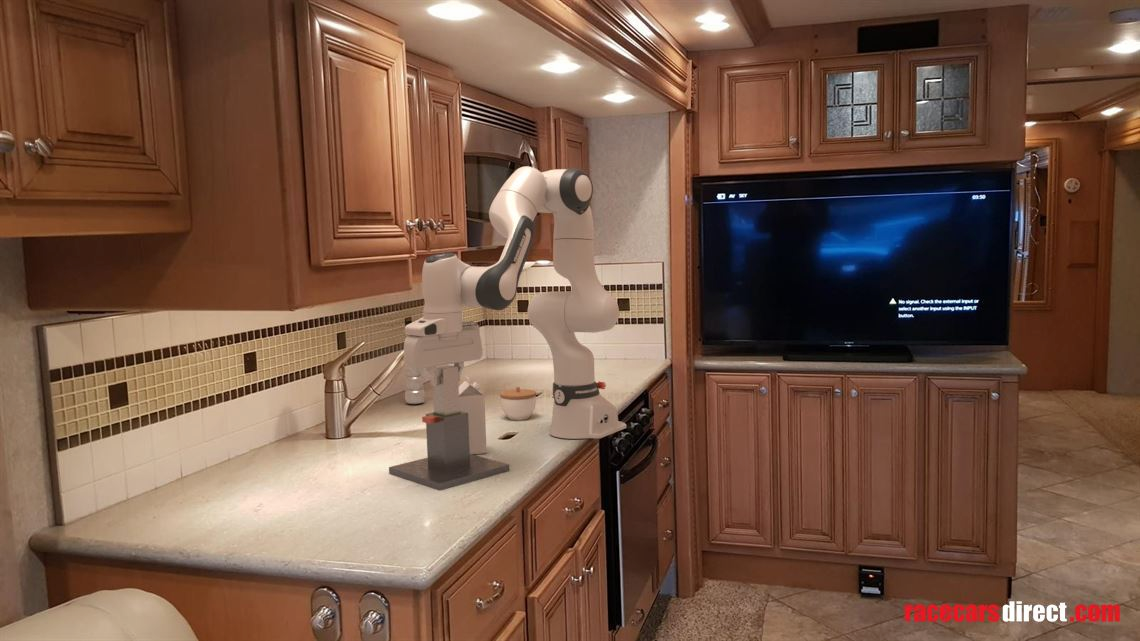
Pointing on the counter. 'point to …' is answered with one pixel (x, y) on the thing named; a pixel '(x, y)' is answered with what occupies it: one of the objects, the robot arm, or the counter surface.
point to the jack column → (446, 391)
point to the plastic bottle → (414, 386)
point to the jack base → (448, 456)
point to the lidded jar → (518, 403)
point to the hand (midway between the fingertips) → (445, 383)
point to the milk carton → (474, 415)
